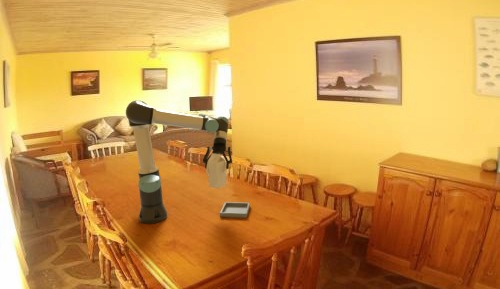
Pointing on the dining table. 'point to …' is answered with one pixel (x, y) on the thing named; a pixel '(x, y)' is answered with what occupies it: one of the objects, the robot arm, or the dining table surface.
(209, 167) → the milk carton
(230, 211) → the gray square tray
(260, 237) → the dining table surface
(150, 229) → the dining table surface
